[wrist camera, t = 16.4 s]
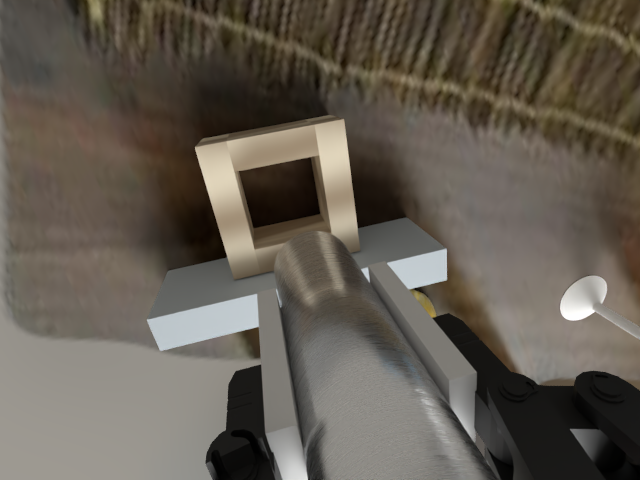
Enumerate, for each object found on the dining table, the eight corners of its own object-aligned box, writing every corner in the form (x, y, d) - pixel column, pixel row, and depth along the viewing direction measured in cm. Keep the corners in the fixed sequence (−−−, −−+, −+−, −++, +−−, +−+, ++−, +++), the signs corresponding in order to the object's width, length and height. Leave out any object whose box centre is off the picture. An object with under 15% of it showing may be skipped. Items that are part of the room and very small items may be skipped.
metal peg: (266, 241, 17) (323, 649, 5) (345, 222, 18) (595, 551, 5) (283, 308, 19) (359, 747, 6) (355, 290, 19) (563, 666, 7)
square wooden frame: (202, 138, 30) (194, 147, 25) (329, 114, 31) (344, 119, 27) (235, 254, 34) (234, 279, 30) (345, 230, 36) (360, 250, 31)
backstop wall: (168, 270, 34) (146, 319, 27) (406, 217, 36) (446, 248, 29) (178, 297, 35) (160, 351, 28) (408, 243, 38) (446, 279, 30)
